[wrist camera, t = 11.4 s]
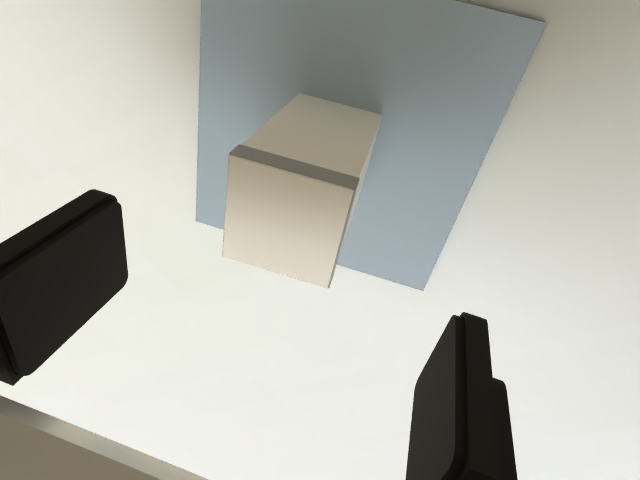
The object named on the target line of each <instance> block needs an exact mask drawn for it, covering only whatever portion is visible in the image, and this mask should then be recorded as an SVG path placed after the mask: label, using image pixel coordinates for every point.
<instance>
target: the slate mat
mask: <svg viewBox="0 0 640 480" xmlns="http://www.w3.org/2000/svg"><path fill="white" fill-rule="evenodd" d="M545 26H546V23H545V22H542V21H538V20H534V19H530V18H526V17H522V16H518V15H514V14H510V13H506V12H502V11H498V10H494V9H490V8H486V7H482V6H478V5H474V4H469V3H465V2H461V1H457V0H201V39H200V79H199V118H198V158H197V197H196V221H198V222H201V223H204V224H207V225H211V226H214V227H217V228H220V229H224V222H225V206H226V191H227V176H228V160H229V152H231V151H232V150H233V149H234V148H235V147H236V146H237V145H238V144H241V145H242V144H243V143H244V142H245V141H246V140H247V139H249V138H250V137H251V136H252V135H253V134H254V133H255V132H256V131H257V130H259V129H260V128H261V127H262V126H263V125H264V124H265V123H266V122H267V121H269V120H270V119H271V118H272V117H273V116H274V115H275V114H276V113H278V112H279V111H280V110H281V109H282V108H283V107H284V106H285V105H286V104H288V103H289V102H290V101H291V100H292V99H293V98H294V97H295V96H296V95H298V94H299V93H302V94H306V95H309V96H313V97H317V98H321V99H324V100H328V101H332V102H336V103H339V104H343V105H347V106H351V107H354V108H358V109H362V110H366V111H369V112H373V113H377V114H381V115H382V119H381V122H380V126H379V129H378V133H377V136H376V140H375V144H374V147H373V151H372V154H371V158H370V161H369V165H368V169H367V172H366V176H365V179H364V183H363V186H362V190H361V193H360V196H359V199H358V202H357V205H356V207H355V210H354V213H353V216H352V219H351V222H350V225H349V228H348V231H347V233H346V236H345V239H344V242H343V245H342V248H341V251H340V254H339V257H338V261H337V265H341V266H344V267H347V268H350V269H354V270H357V271H360V272H363V273H367V274H370V275H373V276H376V277H380V278H383V279H386V280H389V281H393V282H396V283H399V284H402V285H406V286H409V287H412V288H415V289H419V290H422V291H423V290H424V288H425V286H426V284H427V281H428V279H429V277H430V275H431V273H432V271H433V268H434V266H435V264H436V262H437V260H438V258H439V255H440V253H441V251H442V249H443V247H444V244H445V242H446V240H447V238H448V236H449V234H450V231H451V229H452V227H453V225H454V223H455V221H456V218H457V216H458V214H459V212H460V210H461V208H462V205H463V203H464V201H465V199H466V197H467V195H468V192H469V190H470V188H471V186H472V184H473V182H474V179H475V177H476V175H477V173H478V171H479V169H480V166H481V164H482V162H483V160H484V158H485V156H486V153H487V151H488V149H489V147H490V145H491V143H492V140H493V138H494V136H495V134H496V132H497V130H498V127H499V125H500V123H501V121H502V119H503V117H504V114H505V112H506V110H507V108H508V106H509V104H510V101H511V99H512V97H513V95H514V93H515V91H516V88H517V86H518V84H519V82H520V80H521V78H522V75H523V73H524V71H525V69H526V67H527V65H528V62H529V60H530V58H531V56H532V54H533V52H534V49H535V47H536V45H537V43H538V41H539V39H540V36H541V34H542V32H543V30H544V28H545Z"/></svg>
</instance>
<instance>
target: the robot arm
mask: <svg viewBox="0 0 640 480" xmlns="http://www.w3.org/2000/svg"><path fill="white" fill-rule="evenodd" d="M127 279H128V269H127V259H126V249H125V239H124V229H123V219H122V209H121V205H120V203H118V202H117V199H116V197H115V196H113V195H111V194H108V193H105V192H102V191H99V190H96V189H92V190H89V191H87V192H86V193H84V194H82V195H81V196H79V197H77V198H76V199H74V200H72V201H71V202H69V203H67V204H66V205H64V206H62V207H61V208H59V209H57V210H56V211H54V212H52V213H51V214H49V215H47V216H46V217H44V218H42V219H40V220H39V221H37V222H35V223H34V224H32V225H30V226H29V227H27V228H25V229H24V230H22V231H20V232H19V233H17V234H15V235H14V236H12V237H10V238H9V239H7V240H5V241H4V242H2V243H0V381H2V382H5V383H7V384H10V385H12V386H13V385H14V384H15V383H17V382H18V381H19V380H20V379H21V378H22V377H23V376H27V375H30V374H32V373H33V372H34V371H35V370H36V369H37V368H38V367H40V366H41V365H42V364H43V363H44V362H45V361H46V360H47V359H48V358H49V357H50V356H51V355H52V354H53V353H54V352H55V351H56V350H57V349H58V348H60V347H61V346H62V345H63V344H64V343H65V342H66V341H67V340H68V339H69V338H70V337H71V336H72V335H73V334H74V333H75V332H76V331H77V330H78V329H80V328H81V327H82V326H83V325H84V324H85V323H86V322H87V321H88V320H89V319H90V318H91V317H92V316H93V315H94V314H95V313H96V312H97V311H99V310H100V309H101V308H102V307H103V306H104V305H105V304H106V303H107V302H108V301H109V300H110V299H111V298H112V297H113V296H114V295H115V294H116V293H117V292H119V291H120V290H121V289H122V288H123V287H124V285H125V284H126V282H127ZM0 480H208V479H206V478H203V477H201V476H199V475H196V474H194V473H191V472H189V471H186V470H184V469H181V468H179V467H176V466H174V465H172V464H169V463H167V462H164V461H162V460H159V459H157V458H154V457H152V456H149V455H147V454H144V453H142V452H140V451H137V450H135V449H132V448H130V447H127V446H125V445H122V444H120V443H117V442H115V441H112V440H110V439H107V438H105V437H103V436H100V435H98V434H95V433H93V432H90V431H88V430H85V429H83V428H80V427H78V426H75V425H73V424H70V423H68V422H65V421H63V420H60V419H58V418H55V417H53V416H50V415H48V414H45V413H43V412H40V411H38V410H35V409H33V408H30V407H28V406H25V405H23V404H20V403H18V402H15V401H13V400H10V399H8V398H5V397H3V396H0ZM406 480H517V472H516V464H515V456H514V447H513V439H512V431H511V422H510V414H509V406H508V398H507V390H506V386H505V384H504V382H503V381H501V380H498V379H495V378H492V367H491V356H490V345H489V334H488V323H487V320H486V319H483V318H480V317H477V316H474V315H471V314H468V313H465V312H463V313H462V314H461V315H460V317H459V316H456V315H453V316H452V317H451V319H450V321H449V323H448V324H447V326H446V328H445V330H444V332H443V334H442V335H441V337H440V339H439V341H438V343H437V345H436V346H435V348H434V350H433V352H432V354H431V356H430V358H429V359H428V361H427V363H426V365H425V367H424V369H423V370H422V372H421V374H420V376H419V378H418V380H417V383H416V386H415V391H414V401H413V411H412V421H411V431H410V441H409V451H408V461H407V471H406Z"/></svg>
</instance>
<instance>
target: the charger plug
mask: <svg viewBox="0 0 640 480" xmlns="http://www.w3.org/2000/svg"><path fill="white" fill-rule="evenodd" d="M381 119H382V115H381V114H377V113H373V112H369V111H366V110H362V109H358V108H354V107H351V106H347V105H343V104H339V103H336V102H332V101H328V100H324V99H321V98H317V97H313V96H309V95H306V94H302V93H299V94H298V95H296V96H295V97H294V98H293V99H292V100H291V101H290V102H289V103H288V104H286V105H285V106H284V107H283V108H282V109H281V110H280V111H279V112H278V113H276V114H275V115H274V116H273V117H272V118H271V119H270V120H269V121H267V122H266V123H265V124H264V125H263V126H262V127H261V128H260V129H259V130H257V131H256V132H255V133H254V134H253V135H252V136H251V137H250V138H249V139H247V140H246V141H245V142H244V143H243V144H242V145H241V144H238V145H237V146H236V147H235V148H234V149H233V150H232V151H231V152H229V160H228V176H227V191H226V206H225V222H224V237H223V253H222V255H223V256H224V257H227V258H230V259H233V260H237V261H240V262H243V263H246V264H250V265H253V266H256V267H259V268H263V269H266V270H269V271H272V272H276V273H279V274H282V275H285V276H289V277H292V278H295V279H298V280H302V281H305V282H308V283H311V284H315V285H318V286H321V287H324V288H329V287H330V284H331V281H332V278H333V275H334V272H335V268H336V264H337V261H338V257H339V254H340V251H341V248H342V245H343V242H344V239H345V236H346V233H347V231H348V228H349V225H350V222H351V219H352V216H353V213H354V210H355V207H356V205H357V202H358V199H359V196H360V193H361V190H362V186H363V183H364V179H365V176H366V172H367V169H368V165H369V161H370V158H371V154H372V151H373V147H374V144H375V140H376V136H377V133H378V129H379V126H380V122H381Z"/></svg>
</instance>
